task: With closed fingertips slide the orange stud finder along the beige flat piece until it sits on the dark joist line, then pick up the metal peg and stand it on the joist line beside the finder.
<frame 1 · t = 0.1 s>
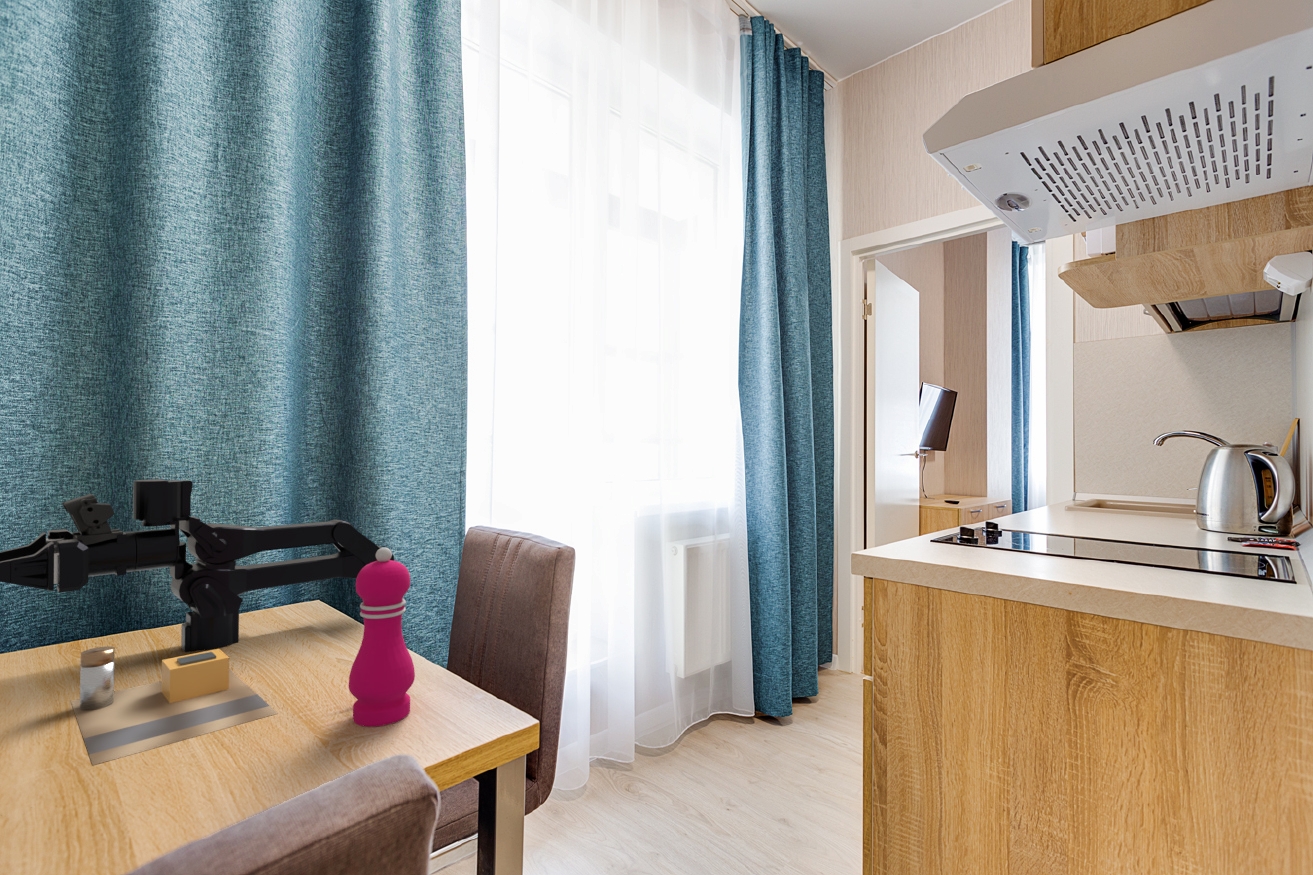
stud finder: (195, 690, 78), point 1 cm above the table, touching beige flat piece
pepper mill: (381, 717, 74), on the table
beige flat piece: (172, 715, 73), on the table
metal peg: (97, 705, 74), point 1 cm above the table, touching beige flat piece
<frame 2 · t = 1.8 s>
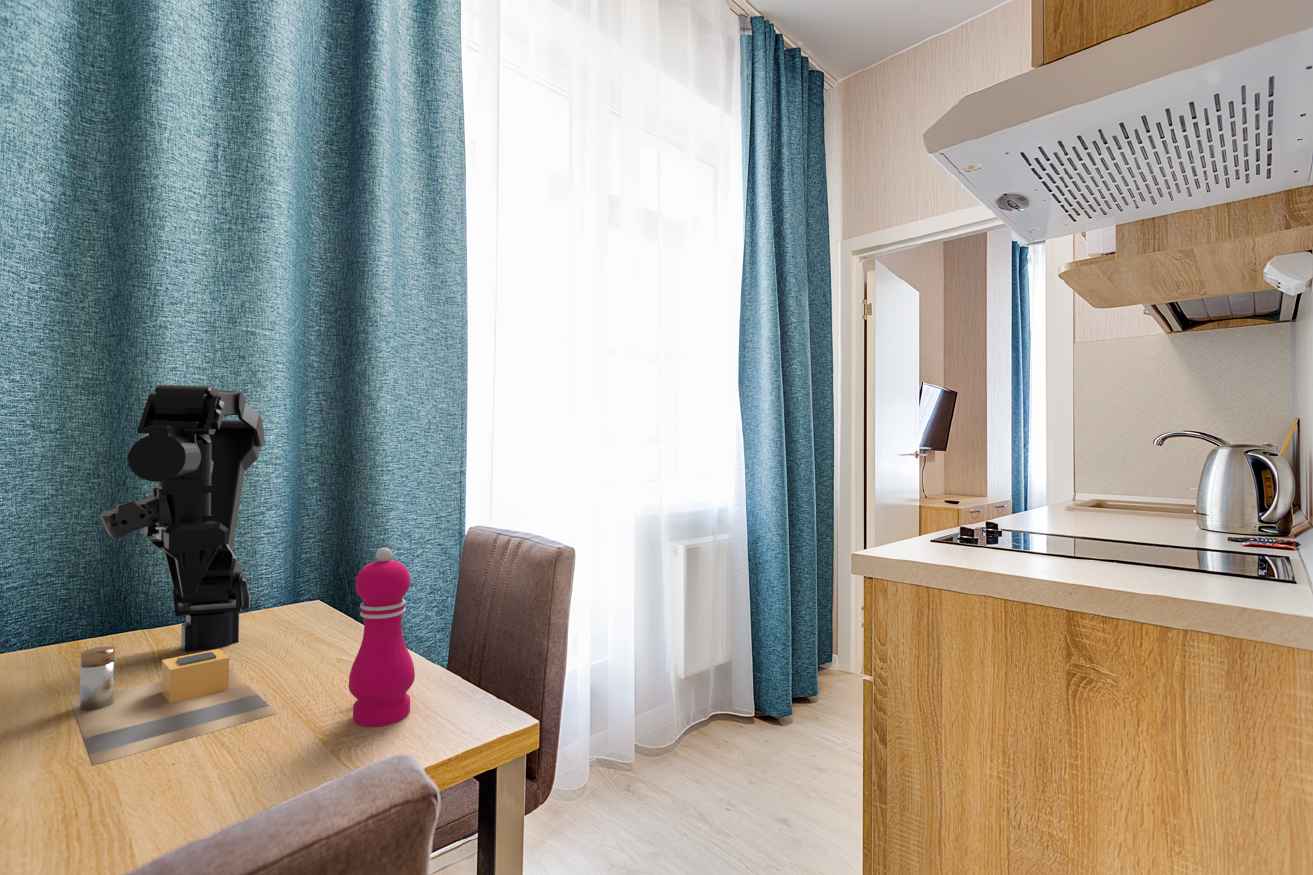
hand: (183, 593, 84), 12 cm above the table, tool pointing down, fingers open, 5 cm apart
nothing on the table moved.
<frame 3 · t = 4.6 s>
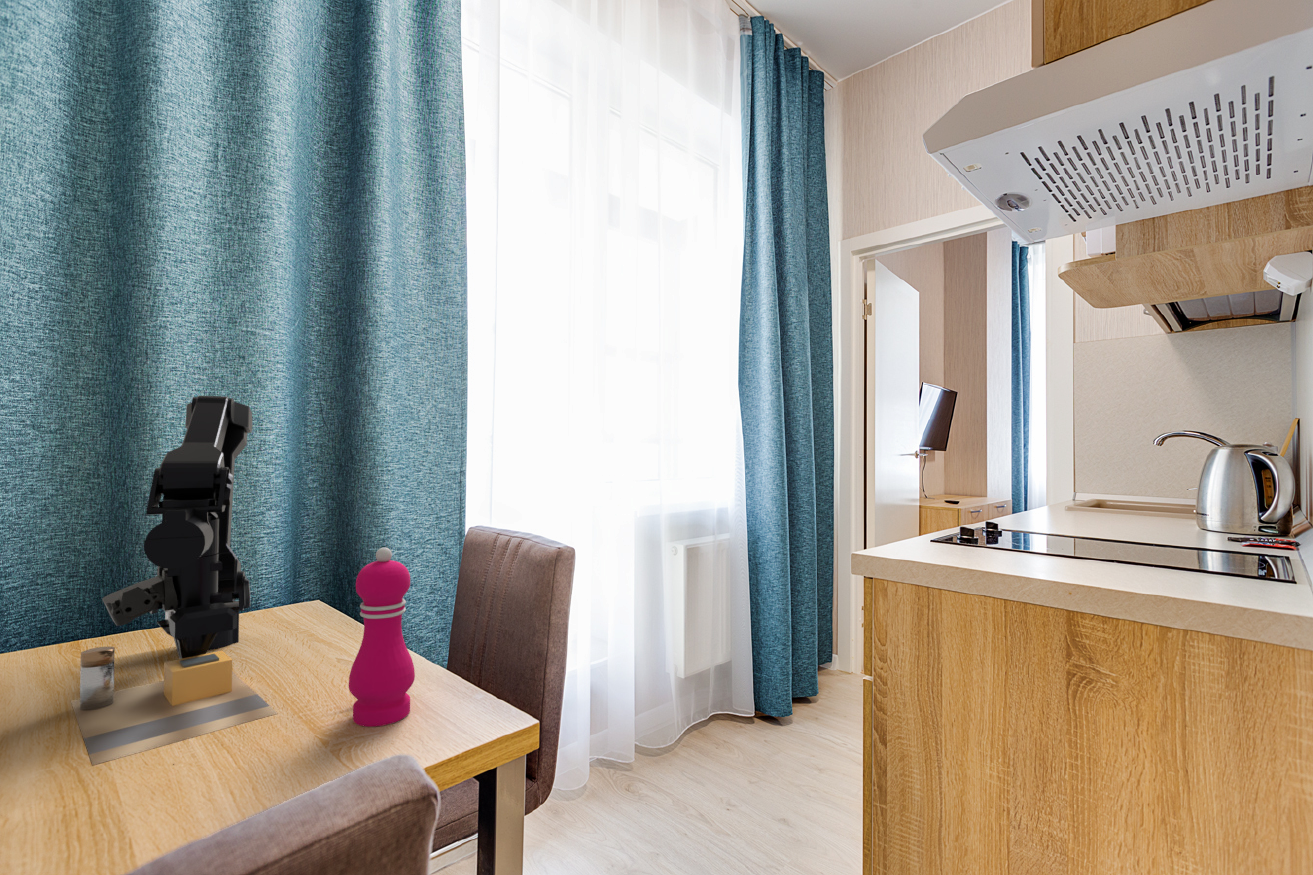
hand: (189, 675, 80), 2 cm above the table, tool pointing down, fingers closed
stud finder: (198, 692, 78), point 1 cm above the table, touching gripper
everything else where it was.
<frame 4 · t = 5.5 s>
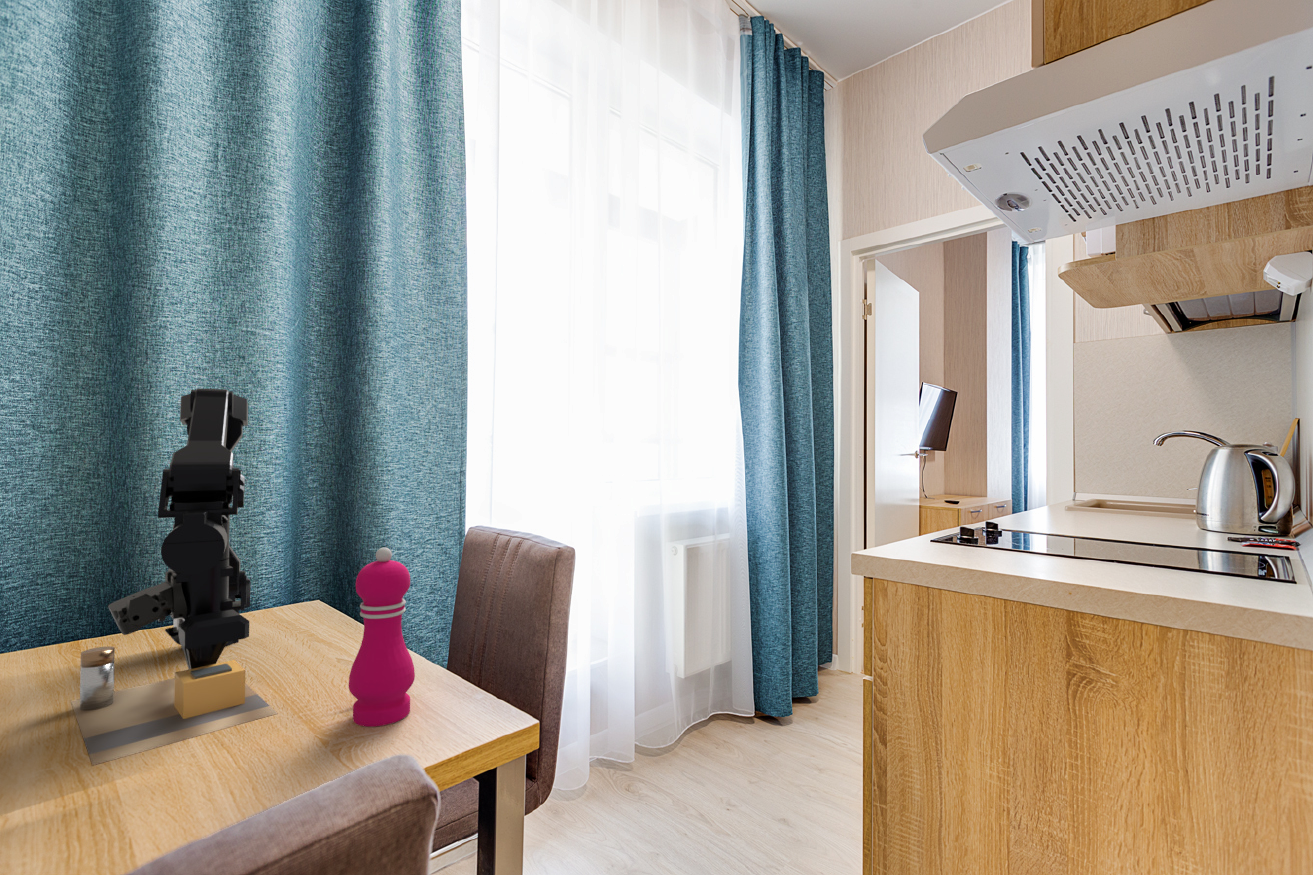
hand: (198, 685, 77), 2 cm above the table, tool pointing down, fingers closed
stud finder: (209, 704, 74), point 1 cm above the table, touching gripper, beige flat piece
everything else where it was.
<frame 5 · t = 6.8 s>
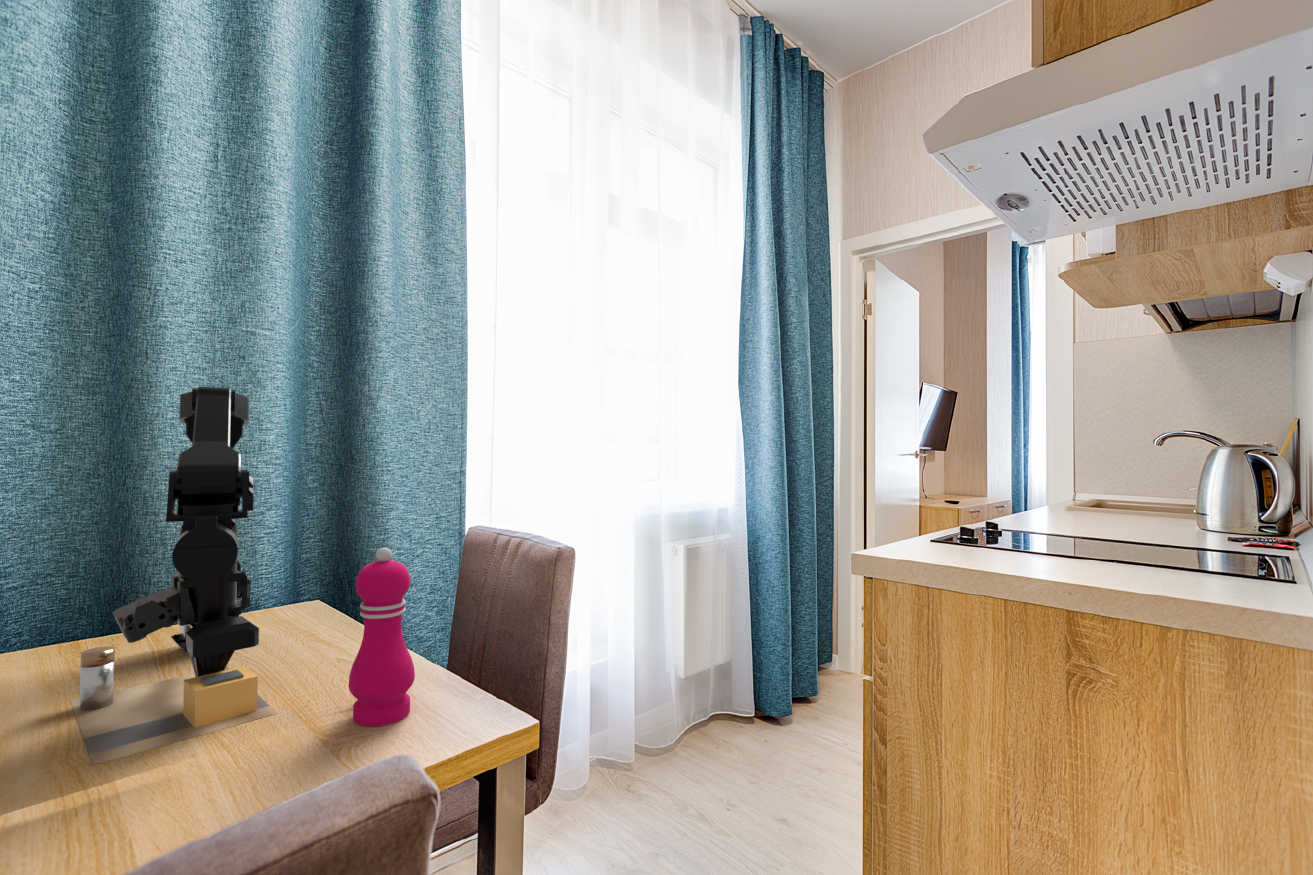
hand: (206, 694, 75), 2 cm above the table, tool pointing down, fingers closed
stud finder: (220, 712, 72), point 1 cm above the table, touching gripper, beige flat piece
everything else where it was.
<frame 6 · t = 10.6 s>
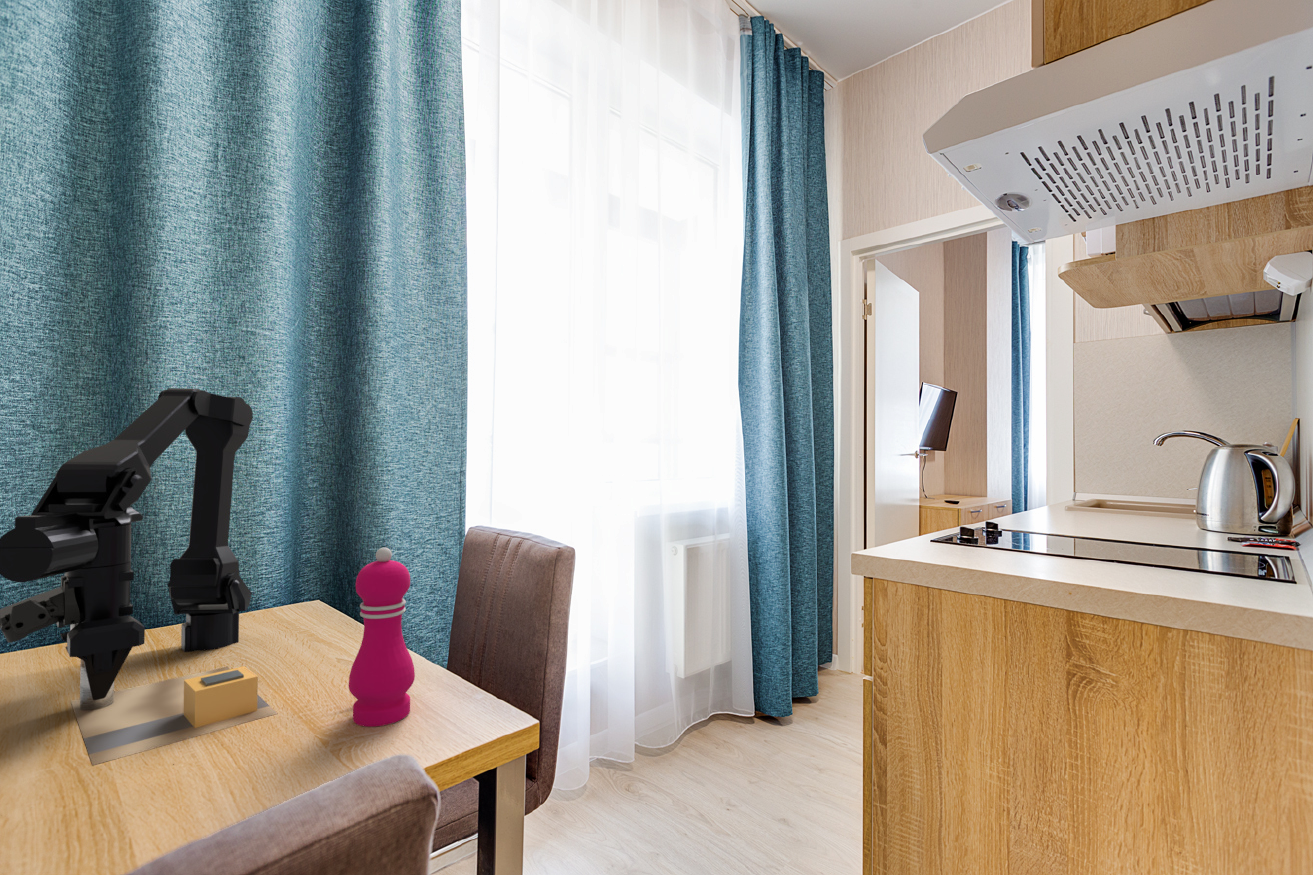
hand: (97, 694, 74), 2 cm above the table, tool pointing down, fingers closed on metal peg, 3 cm apart
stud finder: (220, 712, 72), point 1 cm above the table, touching beige flat piece
metal peg: (97, 705, 74), point 1 cm above the table, touching gripper, beige flat piece
everything else where it was.
when the fingers open (3 cm above the table, at t = 14.0 s): metal peg drops 1 cm, resting on beige flat piece.
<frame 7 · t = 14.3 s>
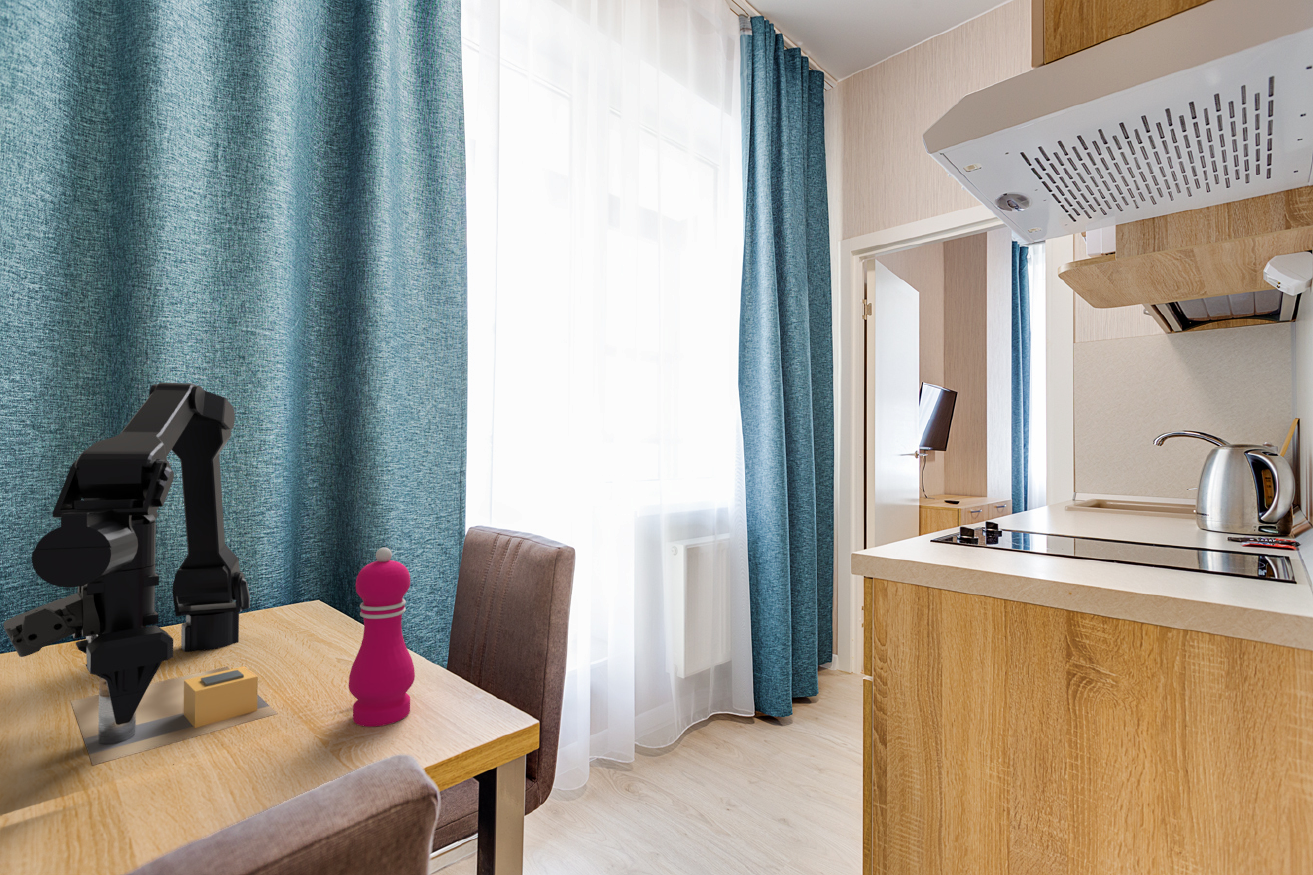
hand: (118, 714, 66), 3 cm above the table, tool pointing down, fingers open, 6 cm apart
metal peg: (117, 736, 66), point 1 cm above the table, touching beige flat piece
everything else where it was.
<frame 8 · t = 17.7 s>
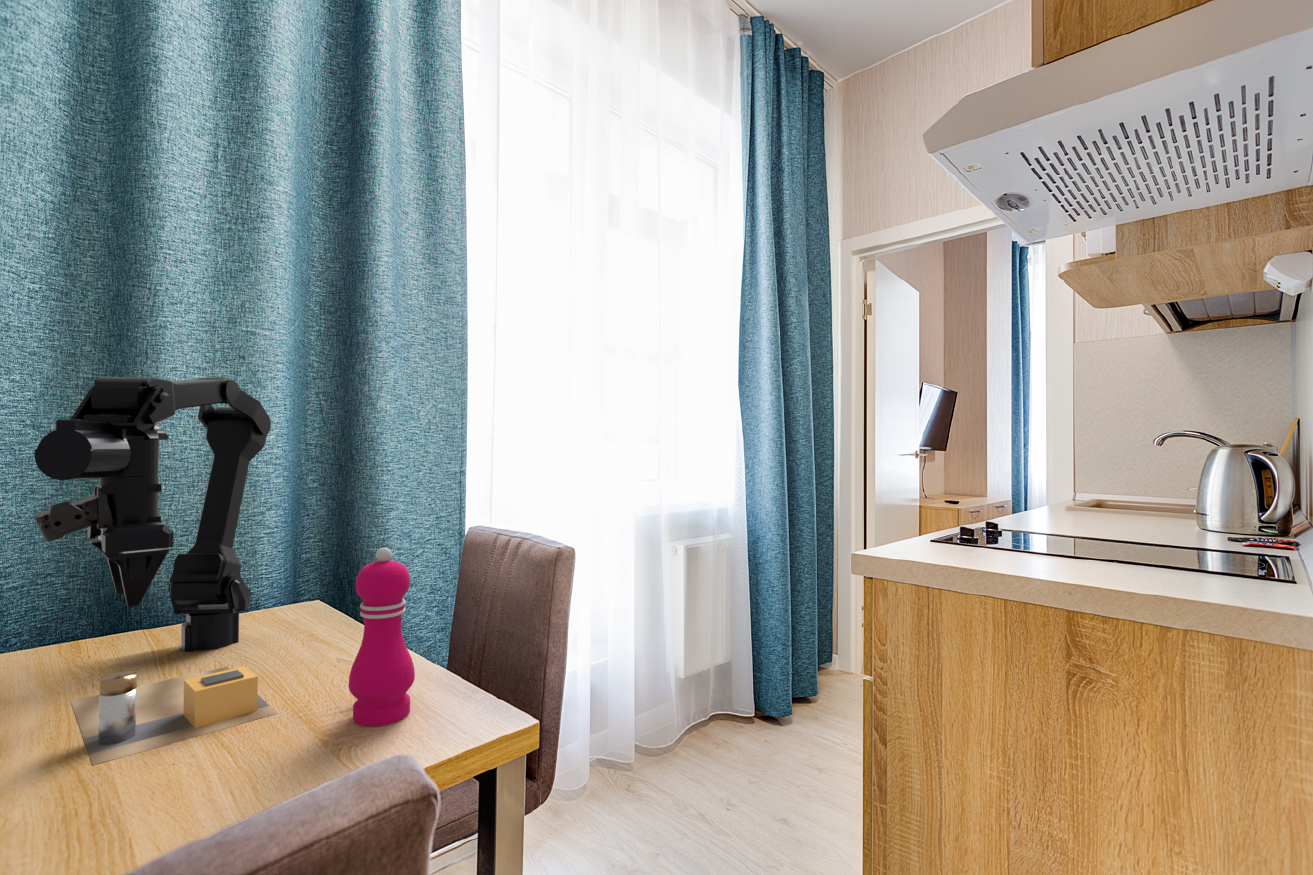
hand: (127, 599, 78), 13 cm above the table, tool pointing down, fingers open, 9 cm apart
nothing on the table moved.
at the end: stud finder inside the target area (0.7 cm from its centre), point 1.0 cm above the table; metal peg 0.1 cm from the target spot, point 1.0 cm above the table; metal peg tilted 0° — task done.
